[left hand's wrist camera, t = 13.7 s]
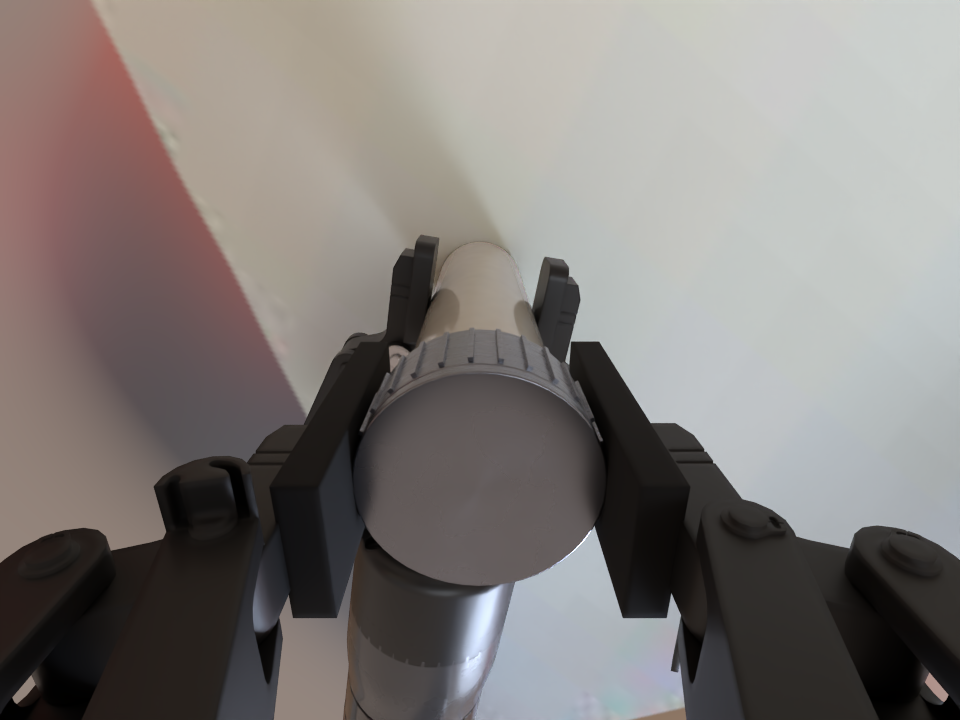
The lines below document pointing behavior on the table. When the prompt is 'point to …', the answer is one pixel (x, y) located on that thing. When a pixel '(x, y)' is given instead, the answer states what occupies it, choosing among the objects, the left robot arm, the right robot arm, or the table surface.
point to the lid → (479, 460)
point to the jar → (480, 295)
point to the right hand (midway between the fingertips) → (491, 252)
